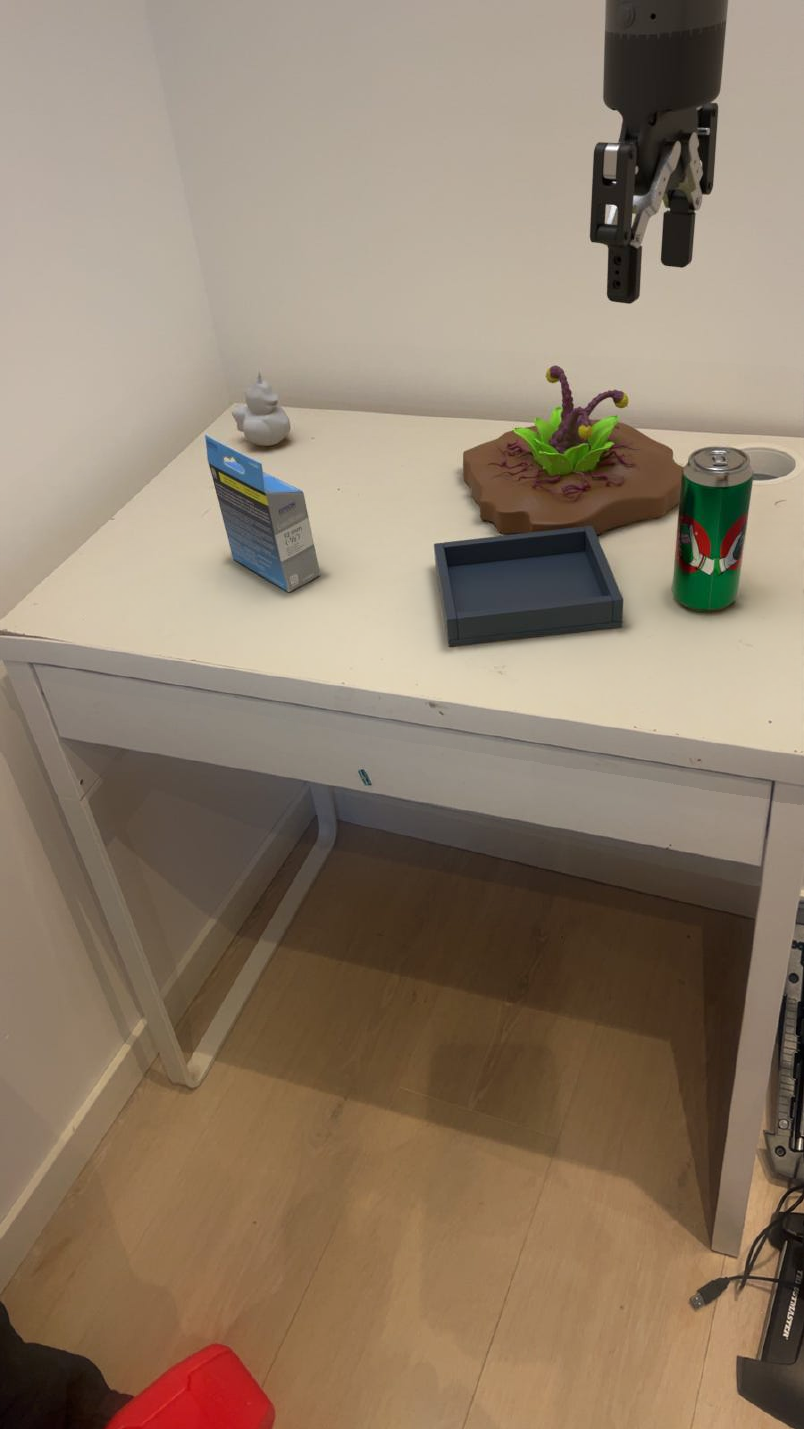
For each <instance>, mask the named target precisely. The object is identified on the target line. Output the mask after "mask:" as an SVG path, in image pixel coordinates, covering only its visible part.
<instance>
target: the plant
mask: <svg viewBox="0 0 804 1429" xmlns="http://www.w3.org/2000/svg"><path fill="white" fill-rule="evenodd" d="M545 378H546V381H547V382H548V383H550V384H556V383H558V382H559V383H560V388H561V390H560V391H561V392H560V393H561V398H562V399H561V402H562V403H561V406H556V407H555V408H554V409H553V410H552V411H551V413H550V417H549V421H547V420H545V419H543V418H541V417H534V419H533V423H534V425H531V426H526V427H512V428H513V429H512V430H509V431H506V432H503V434H502V435H500V436H498V437H497V438H496V439H495V438H494V439H492V440H490V441H486V442H483V443H480V444H478V445H476V446H474V447H471V448H469V449H466V450H464V451H463V453H462V474H463V480H464V482H465V483H466V484H467V485H468V486H469V487H470V493H471V496H472V498H473V499H474V501H475V502H476V503H477V504H478V505H479V516H480V519H481V520H483V521H488V522H491V523H492V524H494V526H495V528H496V530H497V531H498V532H499V533H501V534H505V535H506V534H507V535H513V534H522V533H531V532H540V531H549V530H558V529H566V528H575V527H584V526H593V528H594V530H595V533H596V535H597V536H598V535H599V534H601V533H603V532H605V531H607V530H611V529H615V528H617V527H620V526H624V525H628V524H631V523H635V522H638V521H643V520H648V519H649V520H650V519H657V518H660V517H662V516H664V515H665V513H666V512H668V511H669V510H672V509H673V508H675V507H676V506H677V505H679V501H680V490H681V478H682V470H683V468H684V466H682V465H681V464H678V463H677V462H675V459H674V450H673V449H672V448H671V447H670V446H668V445H666V444H664V443H662V442H659V441H657V440H655V439H653V438H651V437H649V436H648V435H646V434H644V433H643V432H641V431H639V430H638V429H637V428H635V427H633V426H631V425H629V424H626V423H623V422H619V421H620V416H619V415H618V414H617V415H610V416H607V417H604V418H601V419H594V418H593V419H590V415H591V414H592V413H593V412H594V410H595V409H596V407H597V406H598V405H599V404H600V403H601V402H603V401H604V400H606V399H609V398H611V399H612V402H613V403H614V406H615V407H616V408H618V409H624V408H626V407H627V408H628V405H629V397H628V395H627V394H626V393H625V392H624V391H623V390H618V389H613V390H607V391H604V392H601V393H598V394H597V396H595V397H593V398H592V400H591V401H589V402H588V404H587V406H586V407H581V406H578V407H574V406H575V404H574V403H573V402H574V397H573V396H572V394H573V392H572V390H571V388H570V384H569V382H568V377H567V375H566V374H565V370H564V369H563V368H562V367H560V366H559V365H555V364H554V365H552V366H550V367H549V368H548V369H547V370H546V373H545Z"/></svg>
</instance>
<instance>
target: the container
mask: <svg viewBox="0 0 804 1429" xmlns="http://www.w3.org/2000/svg"><path fill="white" fill-rule="evenodd" d="M433 551H434V561H435V572H436V578H437V583H438V590H439V597H440V601H441V608H442V613H443V614H442V615H443V620H444V626H445V632H446V638H447V645H448V647H457V646H465V645H474V644H483V643H491V642H501V641H502V642H503V641H510V640H517V639H518V640H519V639H527V638H537V637H545V636H554V635H563V634H572V633H580V632H590V631H597V630H599V631H601V630H607V629H608V630H609V629H616V628H617V629H619V628H622V627H623V613H624V597H623V596H622V595H623V594H622V592H621V590H620V588H619V585H618V583H617V581H616V579H615V576H614V574H613V572H612V569H611V567H610V564H609V561H608V560H607V557H606V554H605V552H604V550H603V548H602V545H601V542H600V540H599V538H598V534H597V535H596V533H595V530H594V528H593V526H584V527H575V528H566V529H558V530H549V531H540V532H531V533H515V534H507V535H506V534H504V535H496V536H487V537H479V538H470V539H469V538H468V539H464V540H463V539H461V540H453V541H444V542H436V543H433Z"/></svg>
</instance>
